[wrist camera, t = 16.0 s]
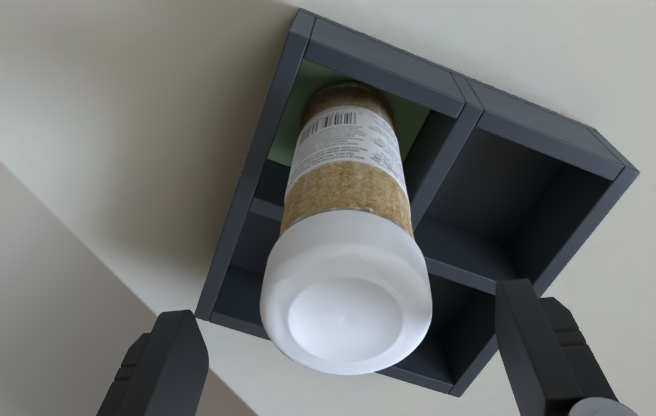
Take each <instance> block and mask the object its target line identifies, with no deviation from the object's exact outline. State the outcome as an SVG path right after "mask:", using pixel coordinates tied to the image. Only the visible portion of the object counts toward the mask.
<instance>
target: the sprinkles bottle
mask: <svg viewBox="0 0 656 416" xmlns="http://www.w3.org/2000/svg"><path fill="white" fill-rule="evenodd" d="M300 129H301V133H300V135H299V137H298V140H297V144H296V148H295V153H294V157H293V161H292V166H291V170H290V175H289V179H288V184H287V188H286V193H285V198H284V214H283V219H282V224H281V230H280V235H279V239H278V241H277V242H276V243H275V245H274V247H273V249H272V251H271V253H270V255H269V257H268V261H267V265H266V270H265V274H264V279H263V285H262V291H261V298H260V314H261V320H262V323H263V326H264V329H265V331H266V333H267V335H268V336H269V338H270V340H271V341H272V342H273V343H274V345H275V346H276V347H277V348H278V349H279V350H280V351H281V352H282V353H283V354H285V355H286V356H287V357H288V358H290V359H292V360H293V361H295V362H297V363H299V364H301V365H303V366H305V367H307V368H310V369H313V370H316V371H320V372H323V373H329V374H336V375H359V374H366V373H371V372H375V371H379V370H382V369H385V368H387V367H390V366H392V365H394V364H396V363H398V362H399V361H401V360H403V359H404V358H405V357H407V356H408V355H409V354H410V353H411V352H413V351H414V350H415V348H416V347H417V346H418V345H419V344H420V343H421V341H422V340H423V338H424V337H425V335H426V333H427V331H428V328H429V326H430V323H431V318H432V297H431V290H430V283H429V278H428V273H427V268H426V264H425V260H424V257H423V254H422V252H421V250H420V249H419V247H418V245H417V244H416V242H415V239H414V235H413V230H412V223H411V219H410V218H411V214H410V205H409V199H408V194H407V190H406V185H405V179H404V174H403V168H402V163H401V157H400V152H399V146H398V141H397V138H396V136H395V122H394V114H393V111H392V108H391V106H390V104H389V103H388V102H387V100H386V98H385V97H384V96H383V94H381V93H379V92H378V91H377V90H376V89H374V88H372V87H370V86H368V85H366V84H364V83H359V82H354V81H344V82H337V83H334V84H332V85H328V86H326V87H324V88H322V89H321V90H320V91H318V92H317V93H315V95H314V96H312V97H311V99H310V101H309V102H308V104H307V106H306V107H305V108H304V111H303V114H302V117H301V123H300Z"/></svg>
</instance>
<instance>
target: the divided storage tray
mask: <svg viewBox="0 0 656 416" xmlns="http://www.w3.org/2000/svg"><path fill="white" fill-rule="evenodd" d="M344 81H354V82H359V83H364V84H366V85H368V86H370V87H372V88H374V89H376V90H377V91H378V92H379V93H381V94H383V96H384V97H385V98H386V100H387V102H388V103H389V104H390V106H391V108H392V111H393V114H394V122H395V136H396V138H397V141H398V146H399V152H400V157H401V163H402V168H403V174H404V179H405V185H406V190H407V194H408V199H409V205H410V214H411V218H410V219H411V223H412V230H413V235H414V239H415V242H416V244H417V245H418V247H419V249H420V250H421V252H422V254H423V257H424V260H425V264H426V268H427V273H428V278H429V283H430V290H431V297H432V318H431V323H430V326H429V328H428V331H427V333H426V335H425V337H424V338H423V340H422V341H421V343H420V344H419V345H418V346H417V347H416V348H415V350H414V351H413V352H411V353H410V354H409V355H408V356H407V357H405V358H404V359H403V360H401V361H399V362H398V363H396V364H394V365H392V366H390V367H387V368H385V369H382V370H379V371H375V372H376V373H379V374H382V375H386V376H389V377H392V378H395V379H399V380H402V381H405V382H409V383H412V384H415V385H419V386H422V387H425V388H428V389H432V390H435V391H438V392H442V393H445V394H447V393H448V394H449V395H452V396H455V397H461V395H462V394H463V393H464V392H465V390H466V389H467V388H468V387H469V385H470V384H471V383H472V382H473V380H474V379H475V378H476V377H477V375H478V374H479V373H480V372H481V370H482V369H483V368H484V367H485V366H486V364H487V363H488V362H489V361H490V359H491V358H492V357H493V356H494V354H495V353H496V352H497V351H498V349H499V348H498V344H497V339H496V332H495V299H496V282H497V281H504V280H515V279H525V278H527V279H529V281H530V283H531V285H532V287H533V289H534V291H535V293H536V295H537V297H538V298H540V297H541V296H542V295H543V293H544V292H545V291H546V290H547V288H548V287H549V286H550V285H551V283H552V282H553V281H554V280H555V278H556V277H557V276H558V275H559V273H560V272H561V271H562V270H563V268H564V267H565V266H566V265H567V263H568V262H569V261H570V260H571V258H572V257H573V256H574V255H575V253H576V252H577V251H578V250H579V249H580V247H581V246H582V245H583V244H584V242H585V241H586V240H587V239H588V237H589V236H590V235H591V234H592V232H593V231H594V230H595V229H596V227H597V226H598V225H599V224H600V222H601V221H602V220H603V219H604V217H605V216H606V215H607V214H608V212H609V211H610V210H611V209H612V207H613V206H614V205H615V204H616V202H617V201H618V200H619V199H620V197H621V196H622V195H623V194H624V193H625V191H626V190H627V189H628V188H629V186H630V185H631V184H632V183H633V181H634V180H635V179H636V178H637V176H638V175H639V174H640V172H639V171H638V170H637V169H636V168H635V167H634V166H633V165H632V164H631V163H630V162H629V161H628V160H627V159H626V158H625V157H624V156H623V155H622V154H621V153H620V152H619V151H618V150H617V149H616V148H615V147H614V146H612V145H611V144H610V143H609V142H608V141H607V140H606V139H605V138H604V137H603V136H602V135H601V134H600V133H599V132H598V131H597V130H596V129H594V128H591V127H589V126H586V125H584V124H582V123H579V122H577V121H574V120H572V119H569V118H567V117H565V116H562V115H560V114H557V113H555V112H552V111H550V110H548V109H545V108H543V107H540V106H538V105H535V104H533V103H531V102H528V101H526V100H523V99H521V98H518V97H516V96H514V95H511V94H509V93H506V92H504V91H501V90H499V89H496V88H494V87H492V86H489V85H487V84H484V83H482V82H479V81H477V80H475V79H472V78H470V77H467V76H465V75H462V74H460V73H458V72H455V71H453V70H450V69H448V68H445V67H443V66H441V65H438V64H436V63H433V62H431V61H428V60H426V59H424V58H421V57H419V56H416V55H414V54H411V53H409V52H407V51H404V50H402V49H399V48H397V47H394V46H392V45H390V44H387V43H385V42H382V41H380V40H377V39H375V38H373V37H370V36H368V35H365V34H363V33H360V32H358V31H356V30H353V29H351V28H348V27H346V26H343V25H341V24H339V23H336V22H334V21H331V20H329V19H326V18H324V17H322V16H319V15H317V14H314V13H312V12H309V11H307V10H305V9H302V8H300V9H299V12H298V14H297V16H296V18H295V20H294V22H293V24H292V26H291V28H290V30H289V32H288V35H287V38H286V41H285V44H284V47H283V50H282V53H281V56H280V59H279V62H278V65H277V68H276V71H275V74H274V77H273V80H272V83H271V86H270V89H269V92H268V95H267V98H266V101H265V104H264V107H263V110H262V113H261V116H260V119H259V122H258V125H257V128H256V131H255V134H254V137H253V140H252V143H251V146H250V149H249V152H248V155H247V158H246V161H245V164H244V167H243V170H242V173H241V176H240V179H239V182H238V185H237V188H236V191H235V194H234V197H233V200H232V203H231V206H230V209H229V212H228V215H227V218H226V221H225V224H224V227H223V230H222V233H221V236H220V239H219V242H218V245H217V248H216V251H215V254H214V257H213V260H212V263H211V266H210V269H209V272H208V275H207V278H206V281H205V284H204V287H203V290H202V293H201V296H200V299H199V302H198V305H197V308H196V311H195V314H194V317H195V318H198V319H202V320H205V321H209V322H211V323H214V324H218V325H221V326H224V327H228V328H231V329H234V330H237V331H241V332H244V333H247V334H251V335H254V336H257V337H261V338H264V339H267V340H270V338H269V336H268V335H267V333H266V331H265V329H264V326H263V323H262V320H261V314H260V298H261V291H262V285H263V279H264V274H265V270H266V265H267V261H268V257H269V255H270V253H271V251H272V249H273V247H274V245H275V243H276V242H277V241H278V239H279V235H280V230H281V224H282V219H283V214H284V198H285V193H286V188H287V184H288V179H289V175H290V170H291V166H292V161H293V157H294V153H295V148H296V144H297V140H298V137H299V135H300V133H301V129H300V123H301V117H302V114H303V111H304V108H305V107H306V106H307V104H308V102H309V101H310V99H311V97H312V96H314V95H315V93H317V92H318V91H320V90H321V89H322V88H324V87H326V86H328V85H332V84H334V83H337V82H344ZM270 341H271V340H270Z"/></svg>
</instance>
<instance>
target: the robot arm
mask: <svg viewBox="0 0 656 416" xmlns="http://www.w3.org/2000/svg"><path fill="white" fill-rule="evenodd" d="M495 332H496V339H497V344H498V348H499V351H500V355H501V358H502V361H503V364H504V367H505V370H506V373H507V376H508V379H509V382H510V385H511V388H512V391H513V394H514V397H515V400H516V403H517V406H518V409H519V412H520V415H521V416H638V415H637V414H636V413H635V412H634V411H633V410H631V409H630V408H629V407H627V406H625V405H624V404H622V403H620V402H619V401H618V399H617V398H616V396H615V394H614V392H613V391H612V389H611V387H610V385H609V383H608V381H607V379H606V378H605V376H604V374H603V372H602V370H601V368H600V366H599V364H598V363H597V361H596V359H595V357H594V355H593V353H592V351H591V350H590V348H589V346H588V345H587V344H586V340H585V338H584V336H583V335H582V333H581V331H579V327H578V325H577V323H576V321H575V320H574V318H573V316H572V314H571V312H570V311H569V310H568V309H567V308H566V307H565V306H563V305H562V304H561V303H560V302H559V301H557V300H556V299H555V298H554V297H547V298H538V297H537V295H536V293H535V291H534V289H533V287H532V285H531V283H530V281H529V279H527V278H525V279H515V280H504V281H497V282H496V299H495ZM208 367H209V358H208V351H207V348H206V345H205V343H204V340H203V337H202V335H201V332H200V330H199V327H198V324H197V322H196V319H195V317H194V314H193V313H192V311H191V310H180V311H170V312H162V313H161V314H160V315H159V316H158V318H157V321H156V323H155V325H154V327H153V330H152V332H151V333H143V334H142V335H141V336H140V337H139V339H138V340H137V341H136V342H135V343H134V344H133V345H132V346H131V347H130V348H129V349H128V352H127V354H126V355H125V358H124V360H123V362H122V364H121V368H119V370H118V372H117V374H116V376H115V378H114V379H115V380H114V382H112V384H111V386H110V388H109V390H108V393H107V395H106V397H105V399H104V401H103V403H102V405H101V407H100V409H99V411H98V413H97V415H96V416H195V413H196V410H197V407H198V403H199V400H200V397H201V393H202V390H203V387H204V383H205V380H206V377H207V372H208Z"/></svg>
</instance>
